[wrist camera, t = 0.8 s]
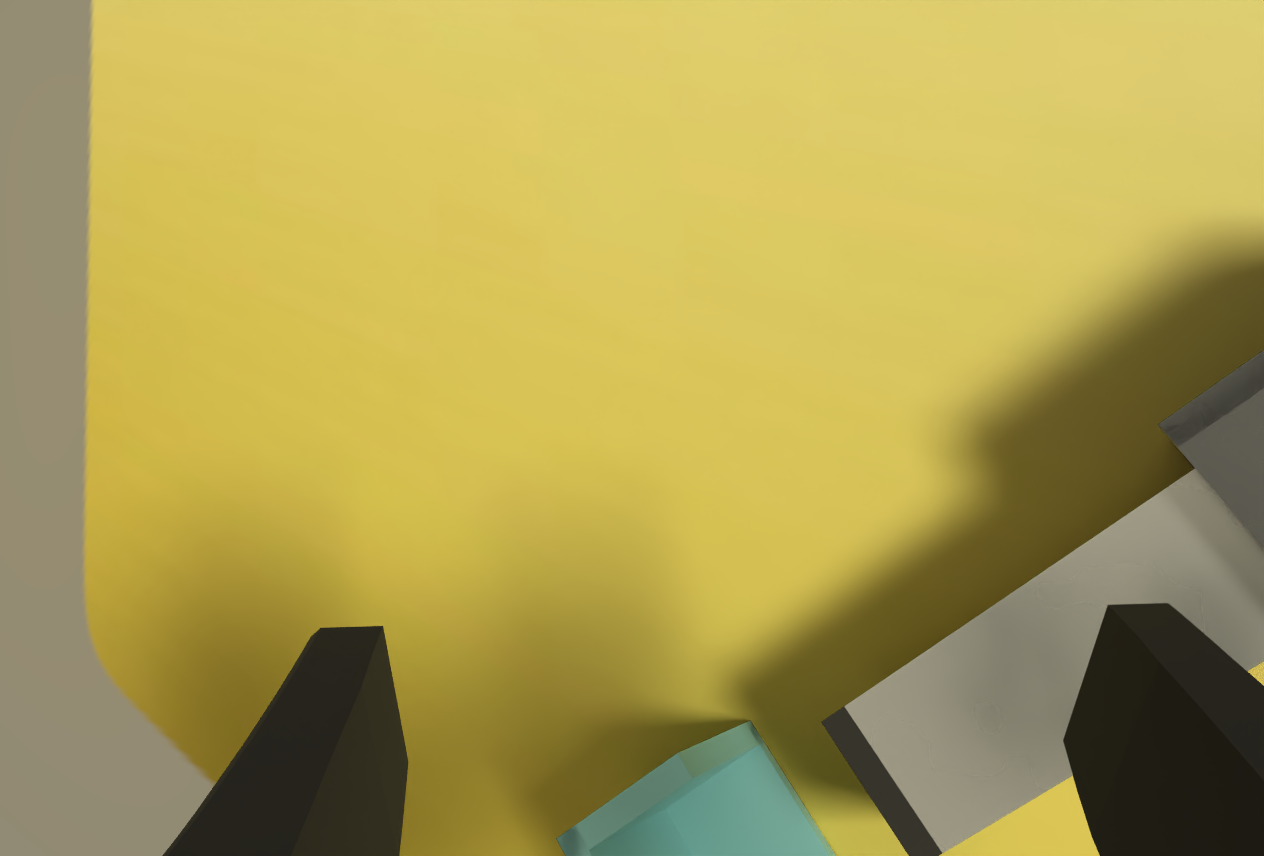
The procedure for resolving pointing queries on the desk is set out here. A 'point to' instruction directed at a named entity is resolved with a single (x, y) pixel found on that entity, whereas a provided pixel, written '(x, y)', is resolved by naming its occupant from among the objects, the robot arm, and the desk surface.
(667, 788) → the socket
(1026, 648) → the long grey plank
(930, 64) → the desk surface
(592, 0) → the desk surface
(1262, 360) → the sleeve
